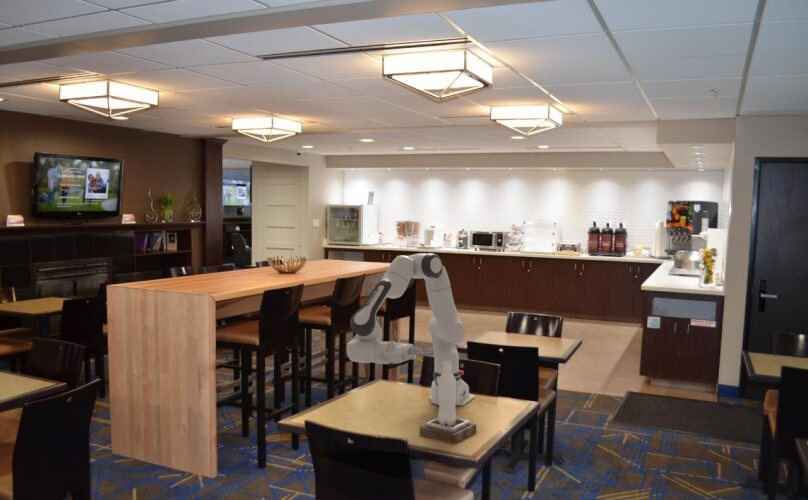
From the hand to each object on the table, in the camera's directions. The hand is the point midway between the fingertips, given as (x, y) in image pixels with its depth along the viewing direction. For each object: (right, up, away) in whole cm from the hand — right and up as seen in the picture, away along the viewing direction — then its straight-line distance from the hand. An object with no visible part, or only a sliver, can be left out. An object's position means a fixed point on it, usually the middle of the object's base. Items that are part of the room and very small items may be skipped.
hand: (418, 354), depth 255 cm
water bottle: (+11, -28, -2) cm, 30 cm away
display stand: (+11, -31, -2) cm, 33 cm away
